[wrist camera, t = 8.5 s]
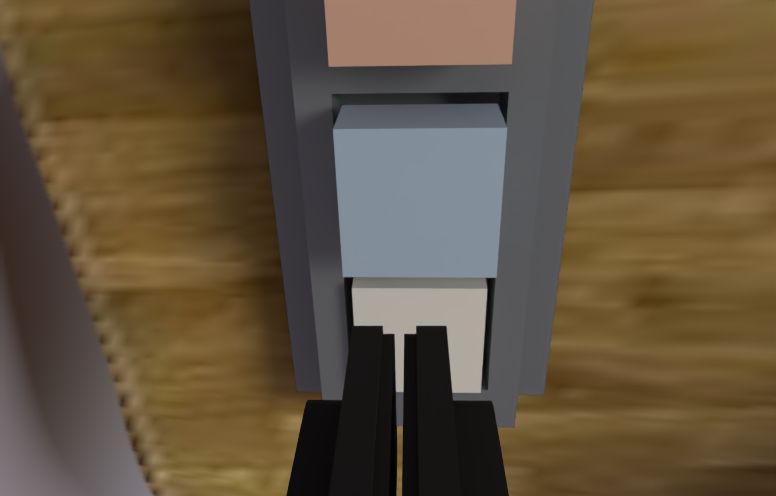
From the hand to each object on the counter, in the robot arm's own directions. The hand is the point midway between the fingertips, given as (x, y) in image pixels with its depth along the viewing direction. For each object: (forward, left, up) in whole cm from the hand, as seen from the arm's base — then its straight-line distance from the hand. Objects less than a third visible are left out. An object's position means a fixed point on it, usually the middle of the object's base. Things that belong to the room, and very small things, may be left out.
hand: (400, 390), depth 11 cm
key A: (-5, +4, -12) cm, 14 cm away
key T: (0, 0, -10) cm, 10 cm away
